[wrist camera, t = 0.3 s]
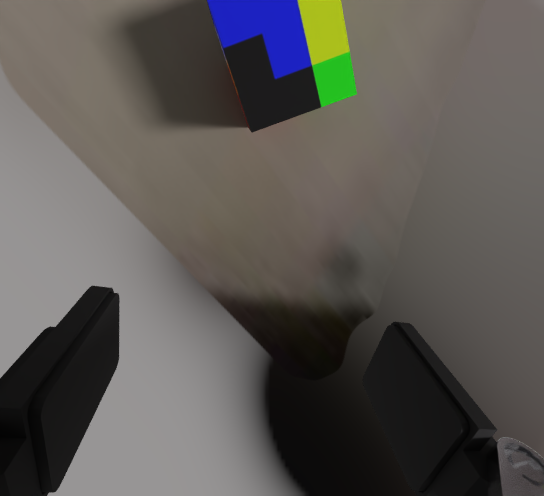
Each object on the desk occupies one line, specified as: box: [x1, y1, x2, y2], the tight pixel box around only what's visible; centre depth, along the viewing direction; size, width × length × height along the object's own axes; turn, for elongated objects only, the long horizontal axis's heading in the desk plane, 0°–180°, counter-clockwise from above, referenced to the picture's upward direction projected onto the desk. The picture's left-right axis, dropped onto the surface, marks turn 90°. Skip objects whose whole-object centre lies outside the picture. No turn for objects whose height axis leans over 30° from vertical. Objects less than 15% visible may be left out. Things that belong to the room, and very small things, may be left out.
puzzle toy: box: [207, 0, 357, 132], centre depth 28 cm, size 10×10×10 cm
